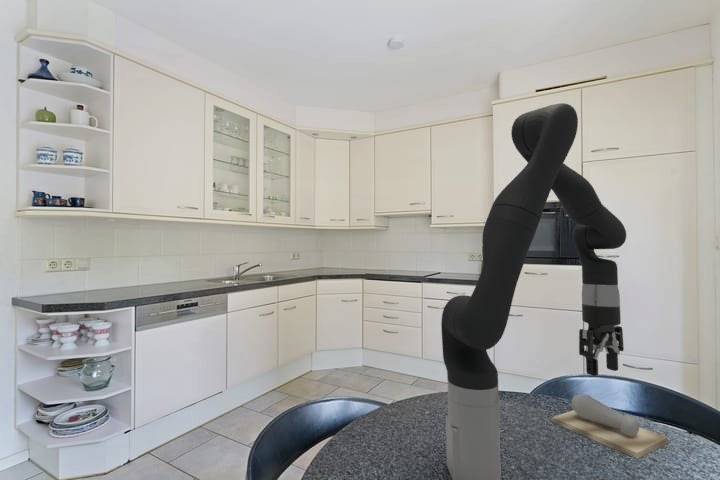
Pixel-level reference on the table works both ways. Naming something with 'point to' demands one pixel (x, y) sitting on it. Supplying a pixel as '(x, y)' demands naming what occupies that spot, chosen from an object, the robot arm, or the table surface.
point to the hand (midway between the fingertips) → (602, 372)
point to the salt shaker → (604, 415)
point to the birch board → (612, 435)
